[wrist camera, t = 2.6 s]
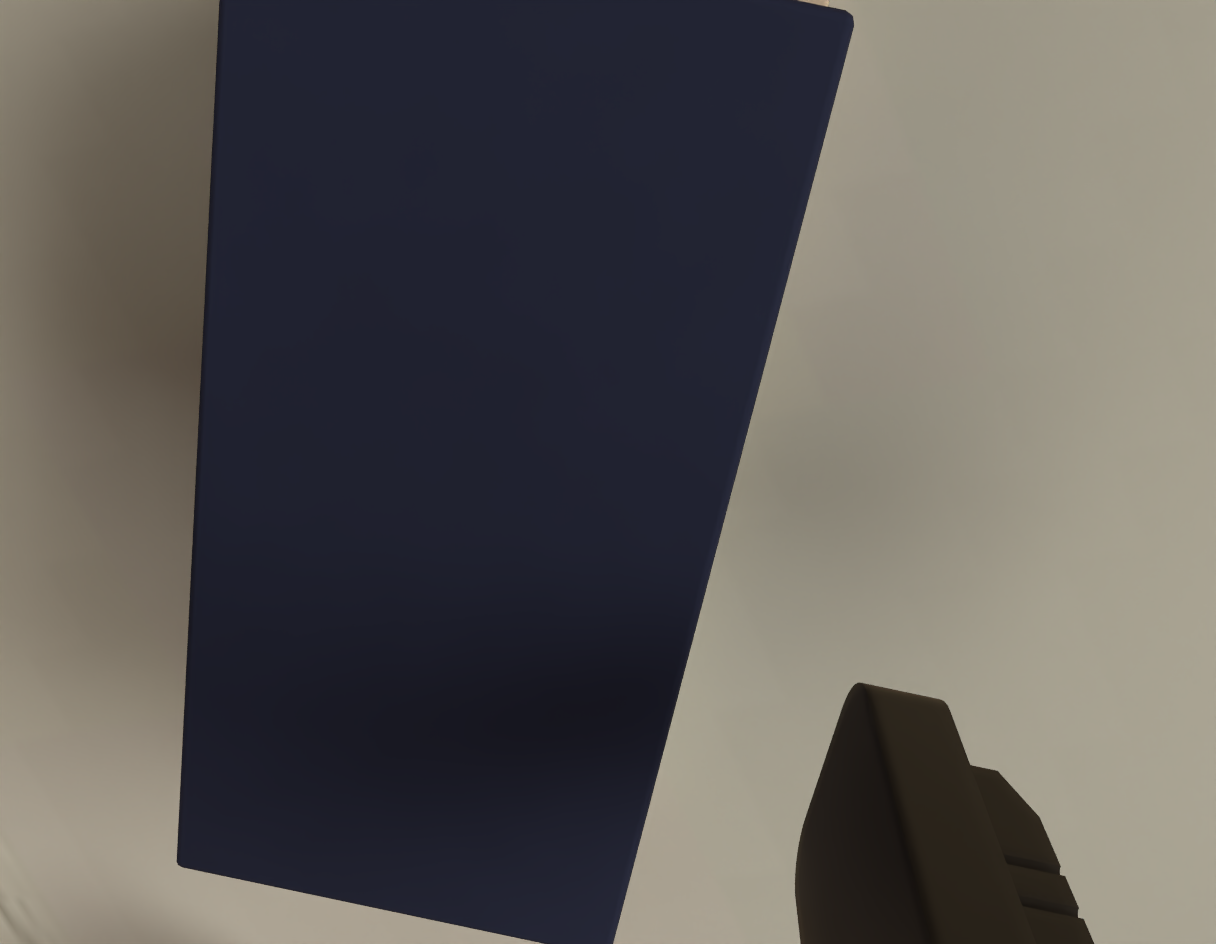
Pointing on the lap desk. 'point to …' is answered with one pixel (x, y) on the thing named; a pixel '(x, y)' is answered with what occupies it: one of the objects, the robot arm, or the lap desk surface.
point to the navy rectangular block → (475, 429)
